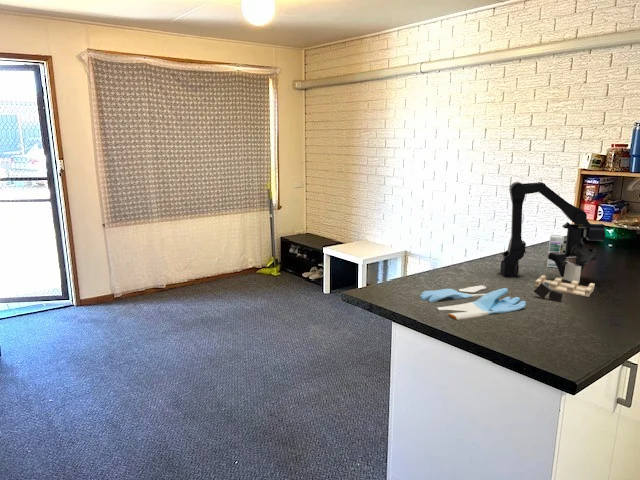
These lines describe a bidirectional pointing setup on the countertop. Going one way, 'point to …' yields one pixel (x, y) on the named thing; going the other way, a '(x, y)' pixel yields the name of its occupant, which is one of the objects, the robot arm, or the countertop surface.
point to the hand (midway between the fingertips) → (570, 276)
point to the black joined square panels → (544, 290)
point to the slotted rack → (566, 286)
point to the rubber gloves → (475, 302)
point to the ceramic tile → (572, 272)
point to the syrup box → (555, 247)
